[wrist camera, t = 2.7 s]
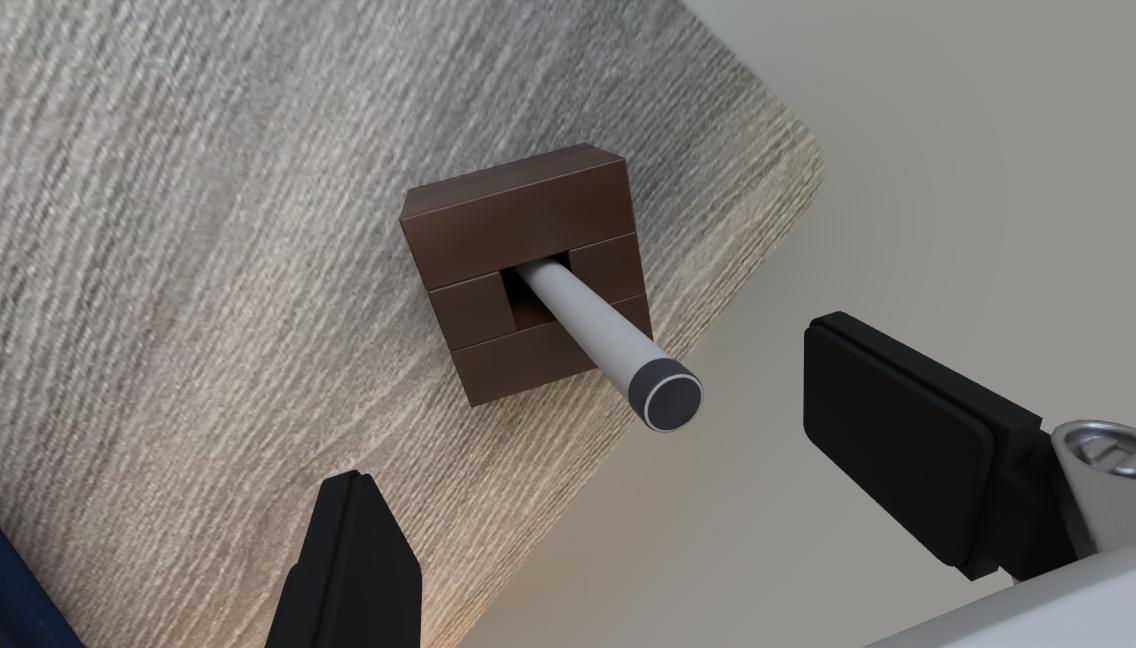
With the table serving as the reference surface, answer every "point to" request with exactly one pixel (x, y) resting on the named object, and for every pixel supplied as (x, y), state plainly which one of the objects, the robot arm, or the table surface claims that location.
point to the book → (28, 608)
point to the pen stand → (514, 236)
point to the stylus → (617, 348)
